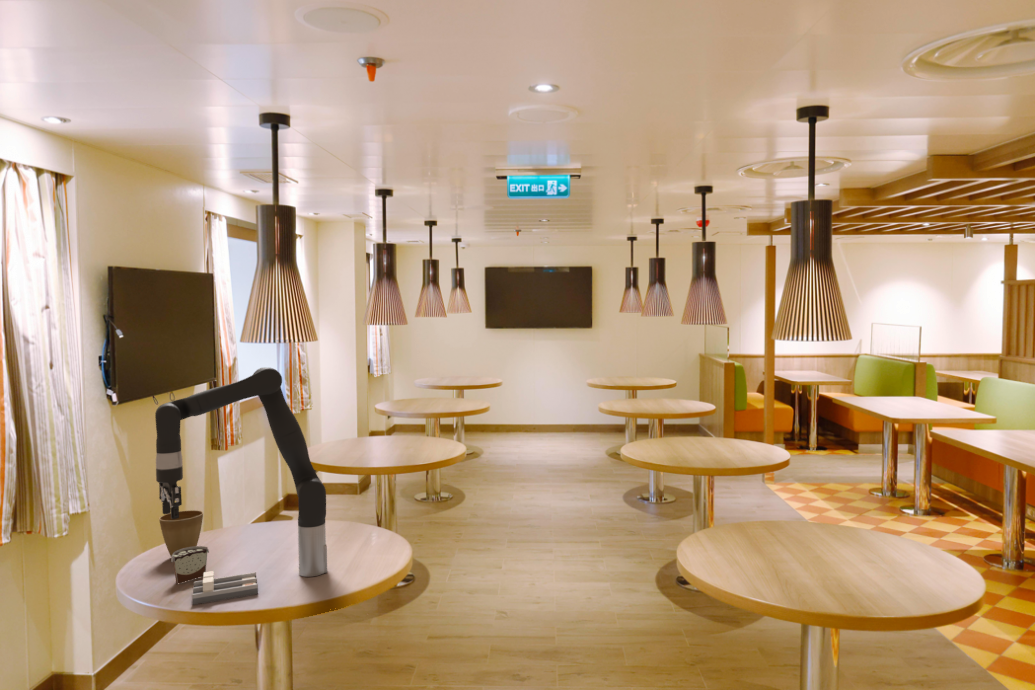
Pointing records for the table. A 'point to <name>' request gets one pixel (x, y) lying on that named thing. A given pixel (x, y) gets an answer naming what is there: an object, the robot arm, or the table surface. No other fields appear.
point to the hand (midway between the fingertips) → (170, 516)
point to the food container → (189, 563)
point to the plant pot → (181, 530)
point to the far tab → (208, 574)
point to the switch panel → (226, 588)
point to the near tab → (208, 584)
